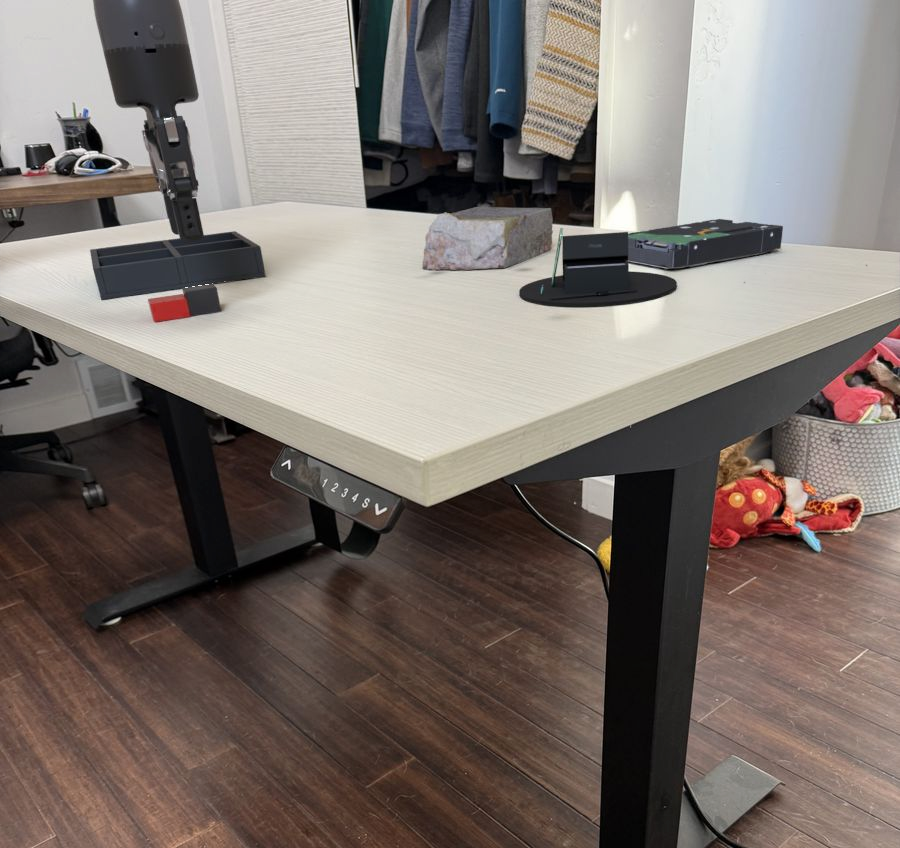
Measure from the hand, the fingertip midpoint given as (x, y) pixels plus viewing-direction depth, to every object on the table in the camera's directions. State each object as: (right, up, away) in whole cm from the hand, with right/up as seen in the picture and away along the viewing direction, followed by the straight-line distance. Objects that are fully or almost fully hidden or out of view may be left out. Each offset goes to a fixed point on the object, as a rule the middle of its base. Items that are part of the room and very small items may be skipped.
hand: (188, 237), depth 85 cm
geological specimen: (+31, +5, +19) cm, 36 cm away
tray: (-9, +6, +25) cm, 28 cm away
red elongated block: (-1, -7, +3) cm, 7 cm away
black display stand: (+40, -6, -2) cm, 41 cm away
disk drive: (+53, +2, +9) cm, 54 cm away
